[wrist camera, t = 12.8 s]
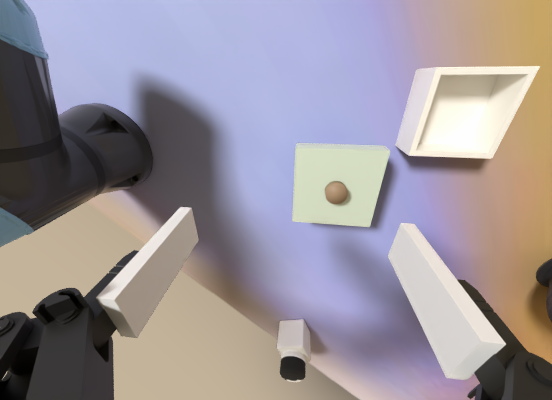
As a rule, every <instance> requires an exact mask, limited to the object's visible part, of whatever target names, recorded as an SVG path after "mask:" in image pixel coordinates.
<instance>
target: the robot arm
mask: <svg viewBox="0 0 552 400" xmlns="http://www.w3.org/2000/svg"><path fill="white" fill-rule="evenodd" d="M47 59H48V54H47V53H46V52H45V50H44V46H43V43H42V39H41V36H40V32H39V28H38V25H37V21H36V18H35V15H34V13H33V12H32V10H31V9H30V7H29V6H28V5H27V4H26V3H25V1H24V0H0V247H1V246H3V245H5V244H7V243H10V242H11V241H14V240H16V239H18V238H20V237H22V236H24V235H28V234H31V233H32V232H34V231H35V230H37V229H39V228H40V227H42V226H44V225H46V224H47V223H49V222H51V221H53V220H55V219H56V218H58V217H60V216H62V215H63V214H65V213H67V212H69V211H70V210H72V209H74V208H76V207H77V206H79V205H81V204H83V203H84V202H86V201H88V200H90V199H91V198H93V197H95V196H97V195H99V194H102V193H107V192H113V191H118V190H124V189H129V188H132V187H134V186H136V185H138V184H139V183H141V182H142V181H144V180H145V179H146V178H147V177H148V176H149V174H150V172H151V169H152V153H151V149H150V146H149V144H148V142H147V140H146V138H145V136H144V134H143V133H142V131H141V130H140V129H139V127H138V126H137V125H136V124H135V123H134V122H133V121H132V120H131V119H130V118H129V117H127V116H126V115H125V114H123V113H122V112H120V111H119V110H117V109H115V108H113V107H111V106H108V105H104V104H98V103H92V104H83V105H78V106H75V107H72V108H70V109H68V110H67V111H65V112H63V113H62V114H60V115H58V114H57V109H56V104H55V99H54V95H53V90H52V85H51V80H50V75H49V69H48V64H47ZM48 60H49V59H48ZM198 241H199V239H198V234H197V230H196V225H195V221H194V216H193V211H192V208H188V207H180V208H179V209H178V210H177V211H176V212H175V213H174V214H173V216H172V217H171V218H170V219H169V220H168V221H167V222H166V223H165V224H164V225H163V226H162V227H161V228H160V230H159V231H158V232H157V233H156V234H155V235H154V236H153V237H152V238H151V239H150V240H149V241H148V242H147V243H146V245H145V246H144V247H143V248H142V249H141V250H140V251H135V250H134V251H132V252H131V253H129V254H128V255H126V256H125V257H123V258H122V259H121V260H120V261H119V262H118V263H117V264H116V267H114V268H112V269H111V271H109V274H107V275H106V276H105V277H104V278H103V279H102V280H101V281H100V282H99V283H98V284H97V285H96V286H95V287H94V288H93V289H92V290H91V291H90V292H89V293H88V294H87V295H86V296H85V297H83V296H82V294H81V293H80V292H79V290H77V289H75V288H66V289H62V290H59V291H57V292H54V293H52V294H50V295H49V296H47V297H46V298H44V299H43V300H42V301H41V302H40V303H39V304H38V305H36V307H35V308H34V310H33V314H34V315H35V316H36V317H37V318H33V319H30V318H29V317H28V316H27V315H26V314H25V313H22V312H15V313H11V314H8V315H5V316H2V317H1V318H0V400H114V386H113V385H114V383H113V382H114V379H113V340H112V337H111V335H112V334H113V333H114V331H115V330H116V329H117V330H118V332H119V333H120V335H121V336H125V337H133V338H137V337H138V336H139V334H140V332H141V331H142V329H143V328H144V326H145V325H146V323H147V321H148V320H149V318H150V316H151V315H152V314H153V312H154V310H155V308H156V307H157V306H158V304H159V302H160V301H161V299H162V297H163V296H164V294H165V293H166V291H167V290H168V288H169V286H170V285H171V283H172V282H173V280H174V278H175V277H176V275H177V274H178V272H179V271H180V269H181V268H182V266H183V264H184V263H185V261H186V260H187V258H188V256H189V255H190V253H191V252H192V250H193V248H194V247H195V245H196V244H197V242H198ZM388 258H389V260H390V262H391V264H392V266H393V268H394V270H395V272H396V274H397V276H398V278H399V281H400V283H401V285H402V287H403V289H404V291H405V293H406V295H407V297H408V299H409V301H410V303H411V305H412V308H413V310H414V312H415V314H416V316H417V318H418V320H419V322H420V324H421V326H422V328H423V330H424V333H425V335H426V337H427V339H428V341H429V343H430V345H431V347H432V349H433V351H434V353H435V355H436V357H437V360H438V362H439V364H440V366H441V368H442V370H443V372H444V374H445V376H446V378H453V379H460V380H468V379H469V378H470V377H471V376H472V375H473V374H474V373H475V375H476V377H477V378H478V380H479V382H480V384H479V385H478V386H476V387H475V388H474V389H473V390H472V391H470V392H469V394H468V396H467V397H469V398H470V399H471V398H473V397H474V396H475V400H552V364H550V363H549V362H547V361H546V360H544V359H543V358H541V357H539V356H537V355H535V354H532V353H529V352H528V351H527V350H526V349H525V348H524V347H523V345H522V344H521V343H520V342H519V341H518V339H517V338H516V337H515V336H514V335H513V333H512V332H511V331H510V330H509V328H508V327H507V326H506V325H505V324H504V322H503V321H502V320H501V319H500V318H499V316H498V315H497V314H496V313H494V312H493V311H494V310H493V309H492V308H491V307H490V305H489V304H488V303H486V301H485V299H484V298H483V297H482V296H481V294H480V293H479V292H478V291H477V290H476V289H475V288H474V287H472V286H471V285H470V284H469V283H467V282H466V281H465V280H457V279H456V278H455V277H454V275H453V274H452V273H451V271H450V270H449V269H448V268H447V266H446V265H445V264H444V262H443V261H442V260H441V258H440V257H439V256H438V255H437V253H436V252H435V251H434V249H433V248H432V247H431V245H430V244H429V243H428V241H427V240H426V239H425V238H424V236H423V235H422V234H421V232H420V231H419V230H418V228H417V227H416V226H415V224H408V223H401V224H400V226H399V229H398V232H397V234H396V237H395V239H394V242H393V244H392V247H391V249H390V252H389V255H388ZM7 371H8V372H7ZM6 372H7V374H6V376H5V377H4V375H5V373H6ZM3 377H4V378H3ZM2 378H3V380H2ZM1 380H2V381H1Z"/></svg>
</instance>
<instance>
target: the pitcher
mask: <svg viewBox="0 0 552 400" xmlns="http://www.w3.org/2000/svg"><path fill="white" fill-rule="evenodd" d="M536 278H537V280H538V281H539V282H540V283H541V284H542V285H543V286H546V287H548V294H547V300H546V304H547V312H548V315H549V318H550V320H551V322H552V259H550V260H548V261H547V262H545V263H544V264H543V265H542V266H541V267H540V268H539V269H538V271H537V273H536Z"/></svg>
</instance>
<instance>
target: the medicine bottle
mask: <svg viewBox="0 0 552 400" xmlns="http://www.w3.org/2000/svg"><path fill="white" fill-rule="evenodd" d="M277 350H278V351H279V353H280V354H281V356H282V357H281V367H280V374H281V376H282V377H283V378H284V379H285V380H287V381H290V382H299V381H302V380H303V379H304V378H305V362H308V361H310V360H311V344H310V332H309V329H308V327H307V325H306V323H305V321H304V319H297V320H284V321H280V322H279V330H278V338H277Z"/></svg>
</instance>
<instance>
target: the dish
mask: <svg viewBox="0 0 552 400" xmlns="http://www.w3.org/2000/svg"><path fill="white" fill-rule="evenodd" d="M539 67H540V66H515V67H435V68H424V69H417V70H416V73H415V77H414V80H413V84H412V88H411V91H410V95H409V98H408V102H407V106H406V109H405V113H404V116H403V120H402V124H401V127H400V131H399V134H398V138H397V142H396V145H395V146H397V147H398V148H399V149H401V150H402V151H403V152H404V153H406V154H407V155H408V156H432V157H460V158H487V159H492V157H493V155H494V154H495V152H496V150H497V148H498V146H499V144H500V142H501V140H502V138H503V136H504V134H505V132H506V131H507V129H508V127H509V125H510V123H511V121H512V119H513V117H514V115H515V113H516V111H517V109H518V107H519V106H520V104H521V102H522V100H523V98H524V96H525V94H526V92H527V90H528V88H529V86H530V84H531V83H532V81H533V79H534V77H535V75H536V73H537V71H538V69H539Z"/></svg>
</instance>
